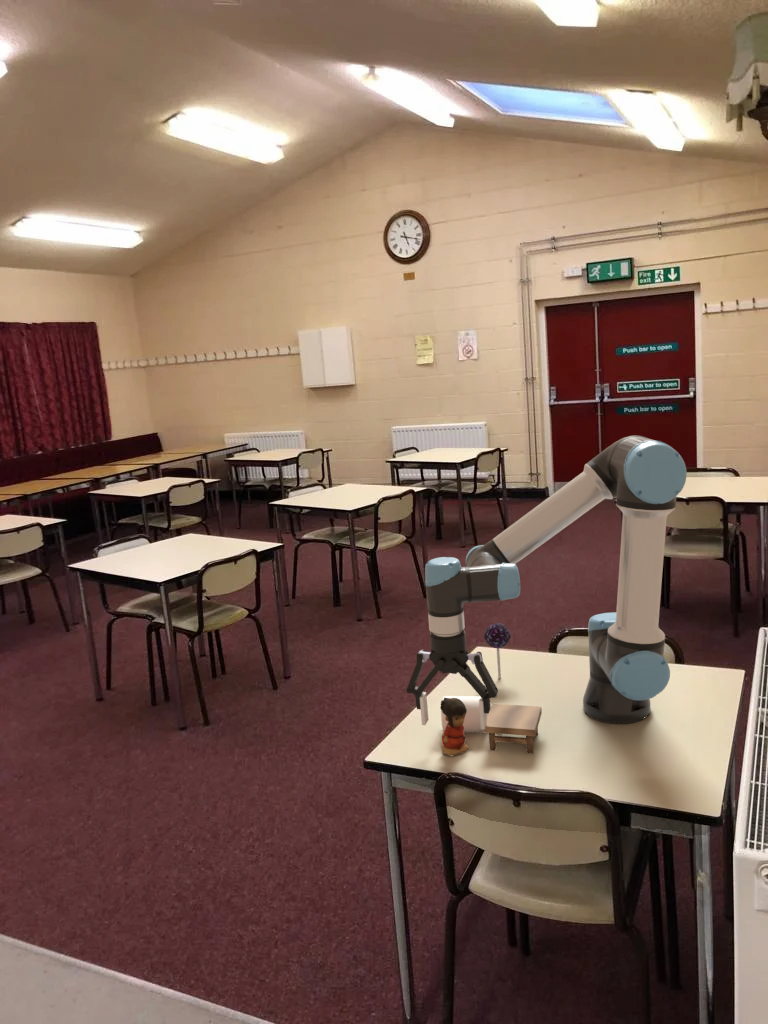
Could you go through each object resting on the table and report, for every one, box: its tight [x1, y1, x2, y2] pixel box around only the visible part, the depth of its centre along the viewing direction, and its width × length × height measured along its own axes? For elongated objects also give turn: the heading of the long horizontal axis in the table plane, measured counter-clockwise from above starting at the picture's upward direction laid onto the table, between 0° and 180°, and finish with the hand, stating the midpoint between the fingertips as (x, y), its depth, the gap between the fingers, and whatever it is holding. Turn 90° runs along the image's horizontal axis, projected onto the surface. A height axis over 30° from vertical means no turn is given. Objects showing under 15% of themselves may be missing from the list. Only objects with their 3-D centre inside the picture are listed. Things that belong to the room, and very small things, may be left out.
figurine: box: [440, 698, 470, 757], centre depth 172 cm, size 6×6×12 cm
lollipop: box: [483, 622, 512, 679], centre depth 207 cm, size 7×7×15 cm
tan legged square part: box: [483, 703, 542, 755], centre depth 174 cm, size 11×11×6 cm
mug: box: [440, 695, 488, 734], centre depth 183 cm, size 12×10×8 cm
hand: (454, 724), depth 172 cm, fingers open, 12 cm apart
